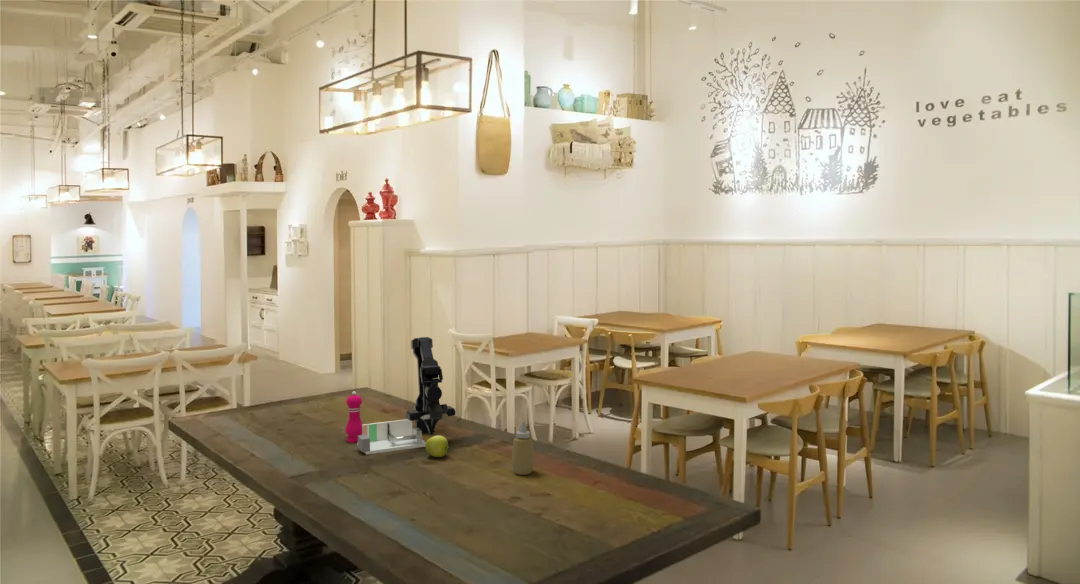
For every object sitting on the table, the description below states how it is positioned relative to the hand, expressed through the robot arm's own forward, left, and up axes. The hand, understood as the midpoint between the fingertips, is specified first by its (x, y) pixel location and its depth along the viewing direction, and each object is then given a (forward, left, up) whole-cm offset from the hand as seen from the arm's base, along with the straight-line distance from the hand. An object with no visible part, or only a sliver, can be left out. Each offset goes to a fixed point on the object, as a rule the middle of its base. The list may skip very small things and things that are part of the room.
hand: (431, 434), depth 304 cm
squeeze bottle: (-16, +49, -4) cm, 52 cm away
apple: (+4, +18, -4) cm, 19 cm away
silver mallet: (+11, -3, -2) cm, 11 cm away
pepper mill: (+26, -18, -4) cm, 31 cm away
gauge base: (+15, -4, -4) cm, 16 cm away
